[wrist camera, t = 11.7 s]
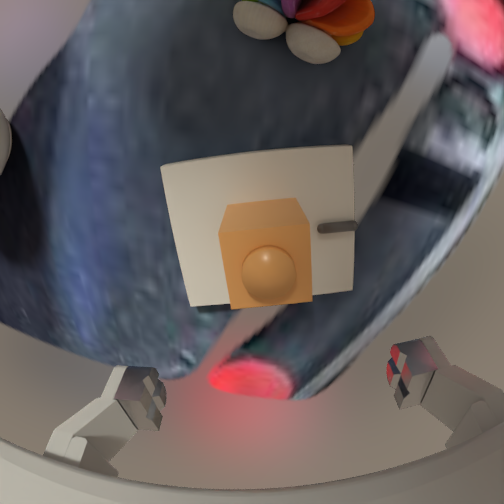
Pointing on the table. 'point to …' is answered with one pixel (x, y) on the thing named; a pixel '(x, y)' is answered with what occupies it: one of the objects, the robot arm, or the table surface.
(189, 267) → the plate
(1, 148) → the lidded jar
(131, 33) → the table surface
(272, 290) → the orange cube with dome
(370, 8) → the rainbow segmented toy
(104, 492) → the robot arm
